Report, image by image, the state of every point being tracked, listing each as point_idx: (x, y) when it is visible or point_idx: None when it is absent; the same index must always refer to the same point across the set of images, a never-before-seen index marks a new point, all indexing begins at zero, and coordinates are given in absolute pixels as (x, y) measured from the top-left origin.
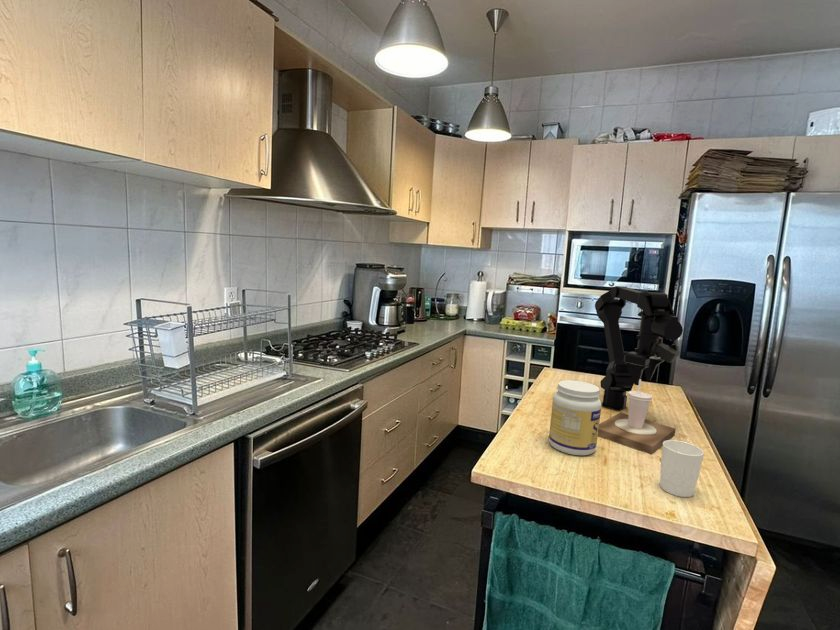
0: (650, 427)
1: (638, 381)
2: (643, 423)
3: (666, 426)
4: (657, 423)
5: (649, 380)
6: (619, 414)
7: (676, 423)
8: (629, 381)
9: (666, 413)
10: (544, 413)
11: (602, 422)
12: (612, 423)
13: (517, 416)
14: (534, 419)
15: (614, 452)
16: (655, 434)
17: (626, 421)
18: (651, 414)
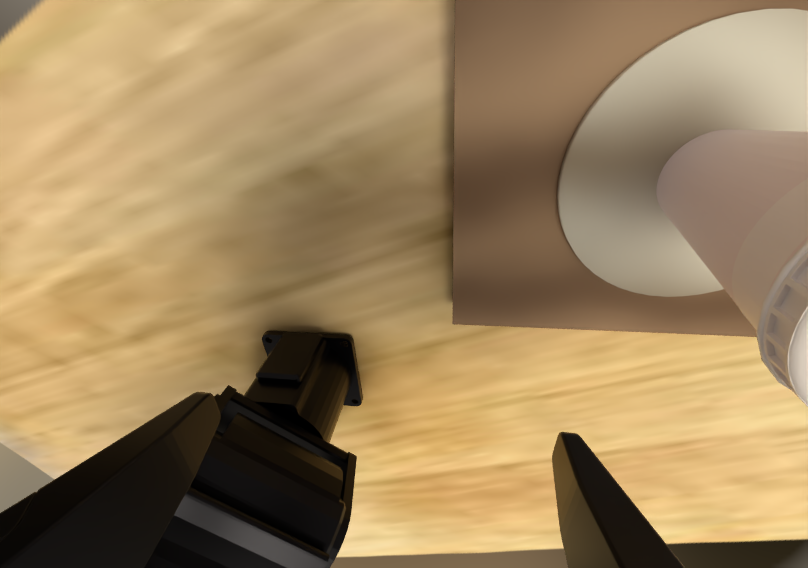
0: (651, 92)
1: (621, 488)
2: (752, 130)
3: (473, 27)
4: (463, 104)
5: (211, 396)
6: (496, 316)
7: (208, 63)
8: (247, 459)
9: (119, 174)
10: (659, 496)
11: (735, 334)
12: (712, 295)
13: (779, 538)
14: (773, 501)
15: None
16: (769, 4)
17: (639, 250)
18: (223, 222)
